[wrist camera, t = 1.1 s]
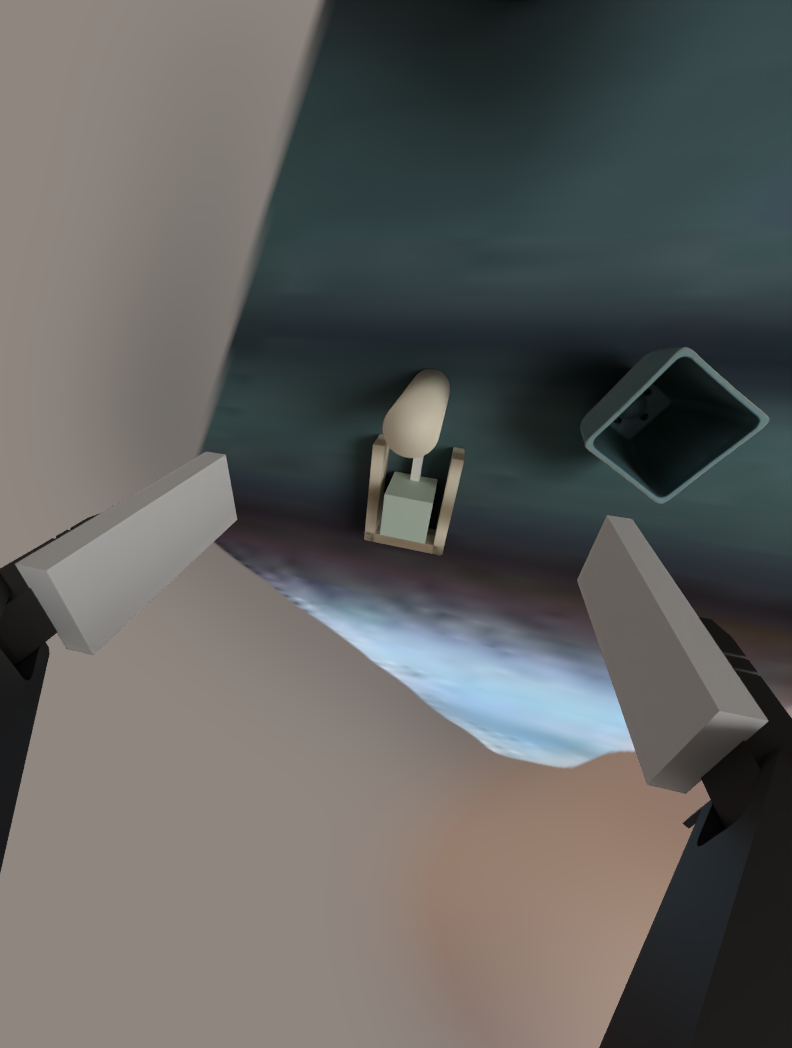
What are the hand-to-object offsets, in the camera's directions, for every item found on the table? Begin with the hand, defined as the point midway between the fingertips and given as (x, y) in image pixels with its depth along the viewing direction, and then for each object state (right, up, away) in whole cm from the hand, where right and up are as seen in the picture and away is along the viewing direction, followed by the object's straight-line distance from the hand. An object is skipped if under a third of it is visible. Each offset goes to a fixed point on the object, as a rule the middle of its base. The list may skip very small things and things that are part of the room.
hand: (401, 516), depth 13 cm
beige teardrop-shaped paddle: (+3, +8, +28) cm, 29 cm away
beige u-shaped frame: (+2, +4, +31) cm, 31 cm away
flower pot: (+22, +11, +22) cm, 33 cm away
